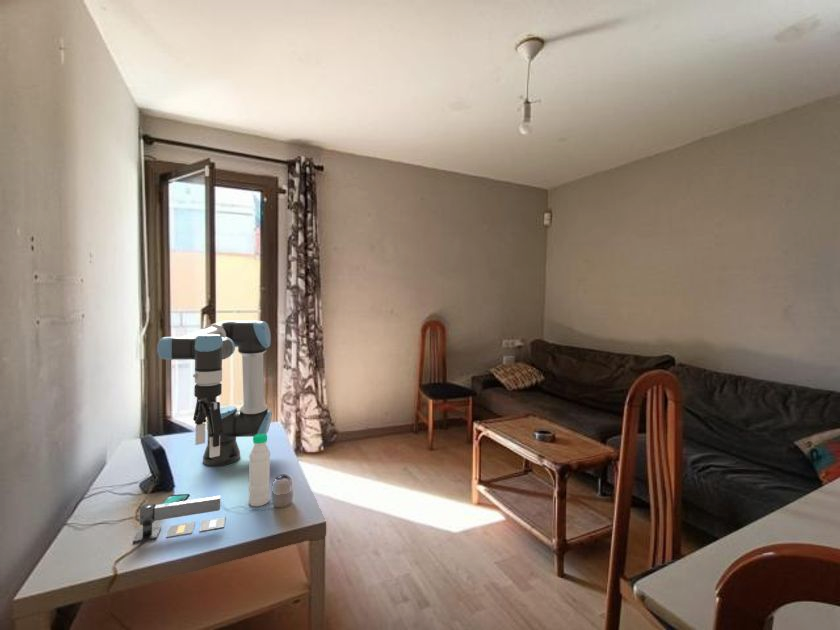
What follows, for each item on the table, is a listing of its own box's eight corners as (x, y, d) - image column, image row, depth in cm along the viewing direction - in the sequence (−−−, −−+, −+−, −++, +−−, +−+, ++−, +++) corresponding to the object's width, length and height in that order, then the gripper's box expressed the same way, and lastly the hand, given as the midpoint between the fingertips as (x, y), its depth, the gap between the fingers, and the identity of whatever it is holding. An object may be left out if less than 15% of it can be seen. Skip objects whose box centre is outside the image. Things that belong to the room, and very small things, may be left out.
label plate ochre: (170, 526, 124) (170, 525, 124) (195, 522, 127) (195, 521, 127) (166, 537, 118) (166, 536, 118) (192, 533, 121) (192, 532, 121)
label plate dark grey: (202, 521, 127) (202, 520, 127) (225, 517, 130) (225, 516, 130) (199, 532, 122) (199, 530, 122) (223, 527, 125) (223, 526, 125)
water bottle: (249, 509, 136) (250, 439, 135) (248, 499, 142) (249, 433, 141) (270, 504, 139) (271, 437, 138) (268, 495, 145) (269, 430, 144)
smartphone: (148, 517, 128) (169, 494, 143) (148, 520, 128) (169, 496, 143) (171, 516, 129) (190, 493, 144) (171, 518, 129) (190, 495, 144)
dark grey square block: (138, 532, 121) (138, 519, 121) (161, 528, 123) (161, 515, 123) (132, 543, 115) (132, 530, 115) (156, 539, 118) (156, 526, 117)
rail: (141, 519, 120) (141, 504, 120) (220, 506, 128) (220, 492, 128) (137, 526, 116) (137, 511, 116) (219, 513, 125) (219, 498, 125)
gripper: (183, 378, 127) (182, 441, 127) (208, 392, 109) (207, 465, 110) (208, 375, 132) (207, 436, 133) (235, 388, 115) (234, 458, 115)
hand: (207, 449), depth 121 cm, fingers open, 13 cm apart
